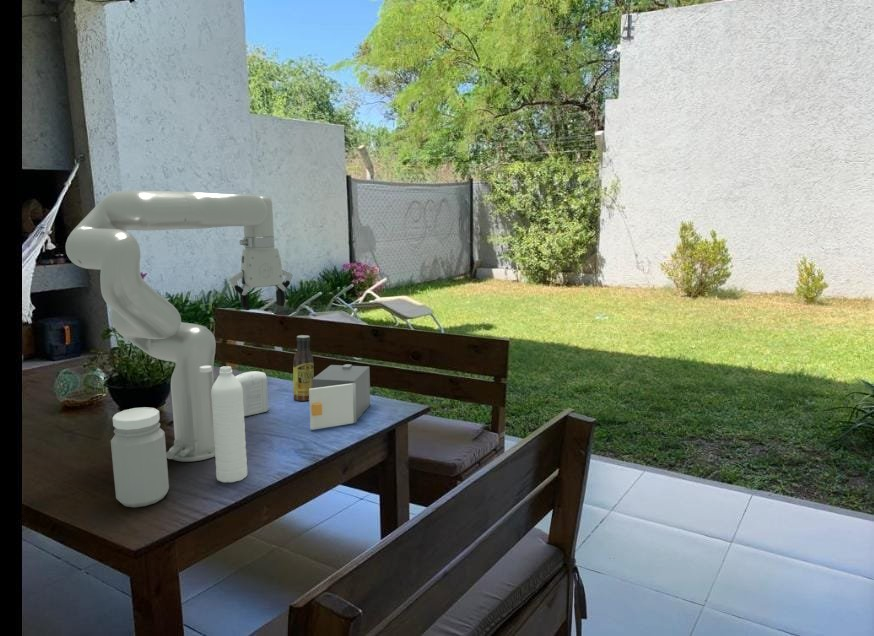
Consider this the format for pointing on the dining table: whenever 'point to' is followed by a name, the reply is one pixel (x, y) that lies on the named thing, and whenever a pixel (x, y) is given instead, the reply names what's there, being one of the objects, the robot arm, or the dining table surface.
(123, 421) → the jar
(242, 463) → the water bottle
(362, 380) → the gray box
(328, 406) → the side door
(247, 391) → the photo printer
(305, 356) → the sauce bottle
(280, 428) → the dining table surface
